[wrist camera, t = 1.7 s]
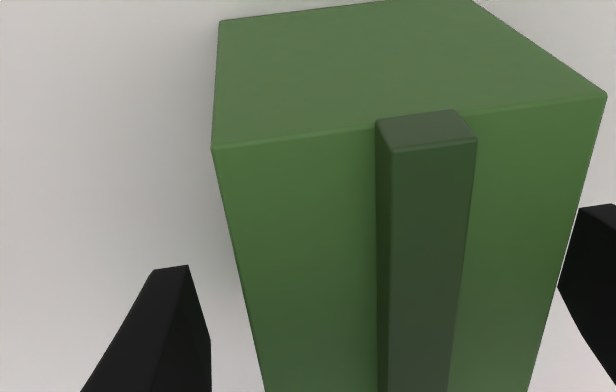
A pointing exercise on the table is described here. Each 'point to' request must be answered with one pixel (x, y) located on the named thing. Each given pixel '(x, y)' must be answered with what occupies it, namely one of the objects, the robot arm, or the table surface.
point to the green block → (397, 192)
